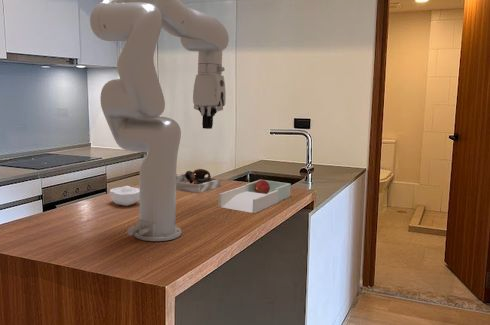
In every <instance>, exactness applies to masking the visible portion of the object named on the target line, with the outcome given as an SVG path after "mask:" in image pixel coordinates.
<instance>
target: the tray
mask: <svg viewBox="0 0 490 325" xmlns="http://www.w3.org/2000/svg"><path fill="white" fill-rule="evenodd" d="M259 180H260V179H258V180H255V181H252V182H249V183H246V184H245V185H244V186H247V190H246V191H248V192H255V190H254V186H255V184H256V182H257V181H259ZM264 180H265V181H266V182H268V184H269V185H270V190H269V192H268V193H270V192H273V191H275V190H278V191H279V192H278V203H279V202H281V201H283V199H284V200H286V199H288V198H290V197H291V189H292V188H291V185H292V184H291V183H288V182H280V181H274V180H266V179H264ZM255 193H256V192H255ZM268 193H267V194H268Z"/></svg>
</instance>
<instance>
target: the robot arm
mask: <svg viewBox="0 0 490 325" xmlns="http://www.w3.org/2000/svg"><path fill="white" fill-rule="evenodd" d="M89 22H90V24H89V25H90V28H91V30H92V33H93V34H94V35H95V36H96V37H97V38H98V39H100V40H102V41H107V42H125V44H124V46H123V48H122V50H121V51H120V54H119V56H118V58H117V63H116V67H117V68H116V69H117V73H118V75H119V79H117V78H116V79H111V80H109V81H107V82H106V83H104V85H103V87H102V88H101V92H100V107H101V110H102V113H103V116H104V118H105V120H106V123H107V125H108V128H109V129H110V132H111V134H112V137H113V139H114V141H115V142H116V144H117V145H118V146H119V147H120V148H121V149H122V150H125V151H131V152H139V153H141V152H143V153H147V155H146V157H145V159H144V160H143V161H142V163H141V165H140V168H139V189H140V198H139V213H138V214H139V219H138V220H136V222H137V223H136V224H135V226H131V227H128V228H127V234H128V236H134V238H136V239H138V240H141V241H145V242H146V241H147V242H167V241H172V240H175V239H178V238H179V237H180V236H181V235H182V229H181V227H179V226H177V225H176V221H177V220H176V219H177V218H176V215H177V211H176V210H177V208H176V207H177V190H176V176H177V166H178V165H177V164H178V155H179V148H180V147H179V146H180V144H181V139H182V138H181V137H182V136H181V135H182V130H181V126H180V124H179V123H178V122H177V121H176V120H174V119H173V118H170V117H167V116H166V117H165V116H161V115H163V113H164V111H165V109H166V108H165V107H166V102H165V97H164V92H163V90H162V87H161V83H160V80H159V76H158V73H157V71H156V67H155V62H154V61H155V60H154V59H155V58H154V56H155V50H156V46H157V44H158V41H159V37H160V34H161V31H162V29H163V31H165V32H167V33H168V34H169V35H171V36H174V37H177V38H180V39H179V40H180V43H181V46H182V47H183V48H184V49H185V50H187V51H190V52H198V57H197V58H198V60H197V74H195V79H194V84H193V91H192V92H193V94H192V103H193V109H194V110H197V111H199V113H200V115H201V117H202V122H201V123H202V124H201V125H202V129H206V130H209V129H213V125H214V116H215V115H216V114H217V113H218V112H221V111H224V107H225V106H226V96H227V95H226V81H225V77H224V75H222V73H223V72H225V67H224V66H223V51H224V50H226V49H227V47H228V46H229V40H230V39H229V38H230V37H229V33H228V30H227V27H226V26H225V25H224V23H222V22H221V21H220V20H219V19H218V18H217V17H215V16H212V15H210V14H207V13H204V12H202V11H199V10H196V9H194V8H191V7H188V6H186V5H185V4H184V3H183V2H182V1H181V0H102V1H100V2H99V3H97V4H96V5H95V6H94V7H93V9H92V11H91V13H90V18H89Z"/></svg>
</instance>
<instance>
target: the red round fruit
mask: <svg viewBox="0 0 490 325" xmlns="http://www.w3.org/2000/svg"><path fill="white" fill-rule="evenodd" d="M258 180H259V181H258ZM258 180H256V181H257V182H256V184H255V186H254V190H255V192H256V193H262V194H267V193H268V192H269V190H270V185H269V184H268V182H266V181H265V180H266V179H258Z"/></svg>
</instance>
